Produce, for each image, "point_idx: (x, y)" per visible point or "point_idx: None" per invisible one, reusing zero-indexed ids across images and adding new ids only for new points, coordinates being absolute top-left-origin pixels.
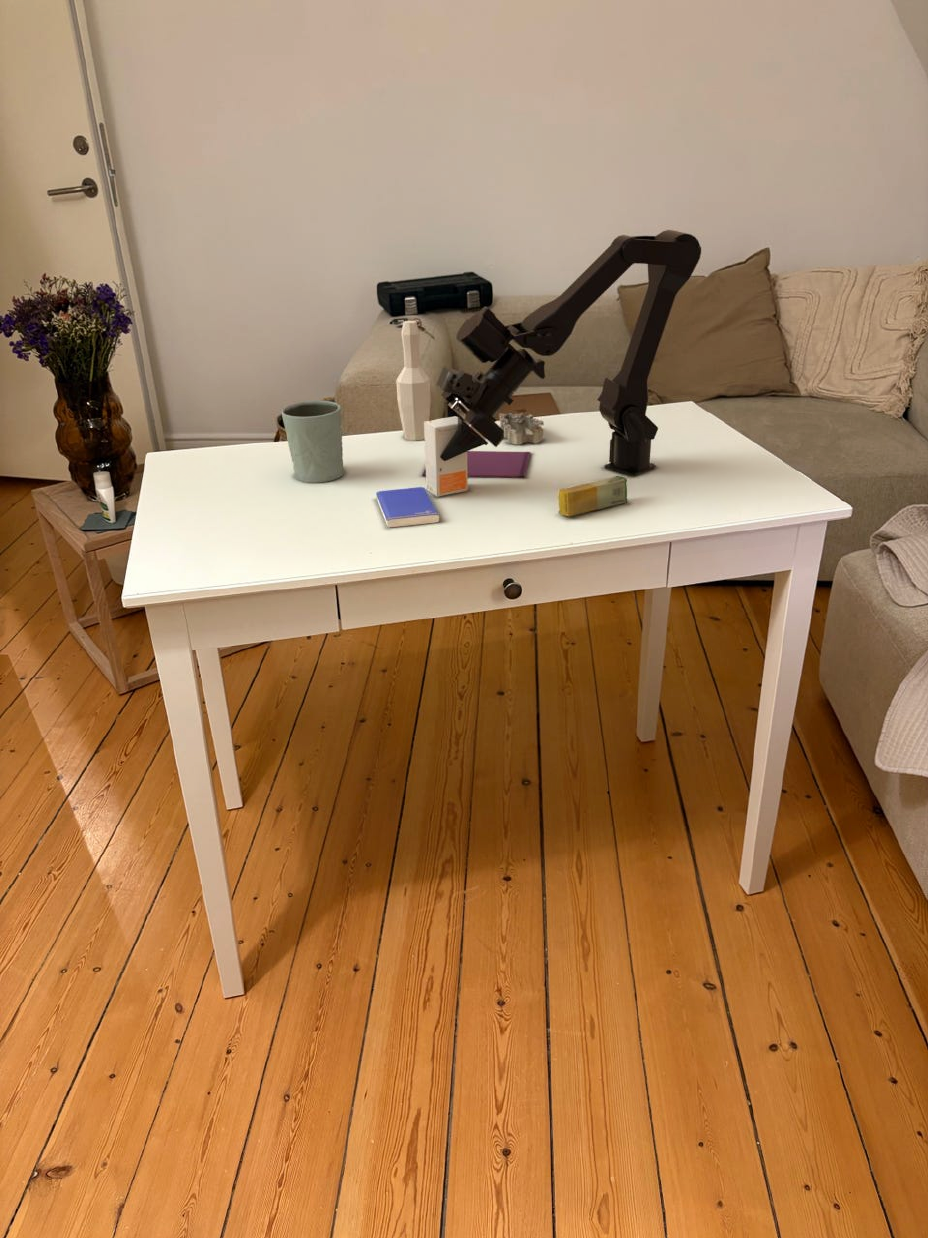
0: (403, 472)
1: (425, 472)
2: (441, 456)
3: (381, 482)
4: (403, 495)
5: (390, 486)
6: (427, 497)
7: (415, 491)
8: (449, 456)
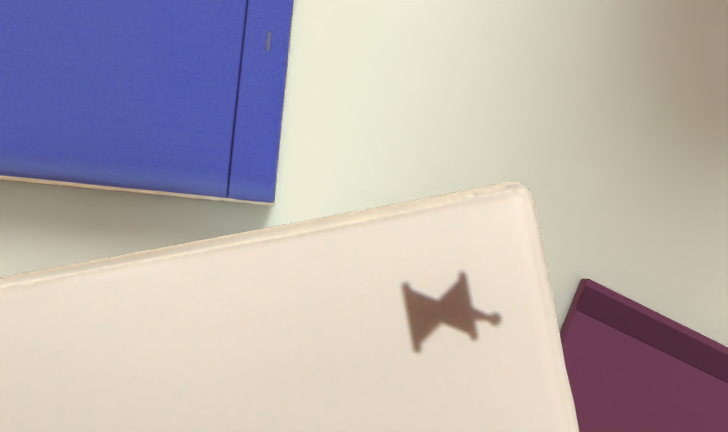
0: (675, 193)
1: (607, 303)
2: None
3: (564, 35)
4: (156, 23)
5: (486, 62)
6: (55, 160)
7: (200, 117)
8: None
